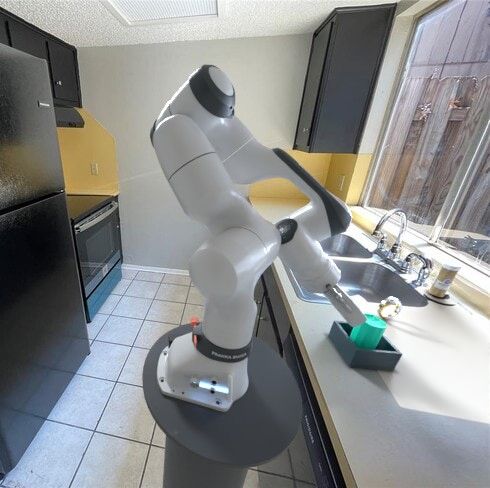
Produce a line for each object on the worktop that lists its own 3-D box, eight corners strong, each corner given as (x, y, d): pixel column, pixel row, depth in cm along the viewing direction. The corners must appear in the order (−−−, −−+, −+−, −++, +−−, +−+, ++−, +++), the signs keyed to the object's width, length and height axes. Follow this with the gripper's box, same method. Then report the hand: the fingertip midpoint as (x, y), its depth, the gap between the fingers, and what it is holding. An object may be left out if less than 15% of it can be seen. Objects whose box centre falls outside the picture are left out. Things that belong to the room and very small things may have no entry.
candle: (359, 359, 68) (375, 324, 63) (341, 342, 74) (355, 309, 69) (377, 357, 69) (395, 322, 65) (358, 340, 75) (373, 307, 70)
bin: (349, 366, 67) (356, 350, 65) (328, 335, 77) (333, 320, 75) (393, 370, 66) (402, 354, 64) (366, 339, 77) (373, 323, 74)
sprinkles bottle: (434, 297, 98) (452, 266, 93) (424, 290, 102) (440, 260, 97) (447, 298, 98) (465, 267, 93) (436, 291, 102) (453, 261, 97)
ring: (391, 315, 87) (401, 296, 84) (399, 322, 84) (409, 302, 81) (370, 314, 87) (379, 294, 84) (377, 320, 84) (386, 300, 81)
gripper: (357, 292, 52) (388, 333, 55) (310, 249, 70) (335, 281, 74) (328, 309, 54) (359, 347, 57) (290, 262, 72) (315, 293, 76)
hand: (345, 310), depth 66 cm, fingers open, 8 cm apart
